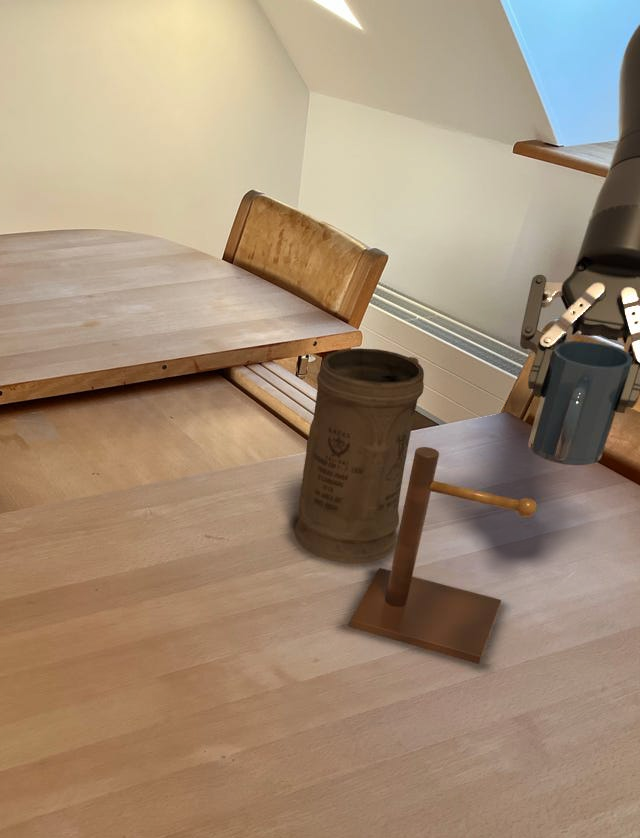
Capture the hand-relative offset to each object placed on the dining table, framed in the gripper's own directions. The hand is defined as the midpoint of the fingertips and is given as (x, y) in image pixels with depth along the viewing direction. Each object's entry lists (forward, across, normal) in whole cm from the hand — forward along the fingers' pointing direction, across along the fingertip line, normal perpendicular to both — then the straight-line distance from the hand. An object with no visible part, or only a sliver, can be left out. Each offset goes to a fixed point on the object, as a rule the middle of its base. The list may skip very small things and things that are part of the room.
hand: (578, 400), depth 84 cm
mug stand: (+21, -7, +7) cm, 23 cm away
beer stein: (+12, -19, +16) cm, 28 cm away
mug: (+4, 0, +4) cm, 5 cm away
